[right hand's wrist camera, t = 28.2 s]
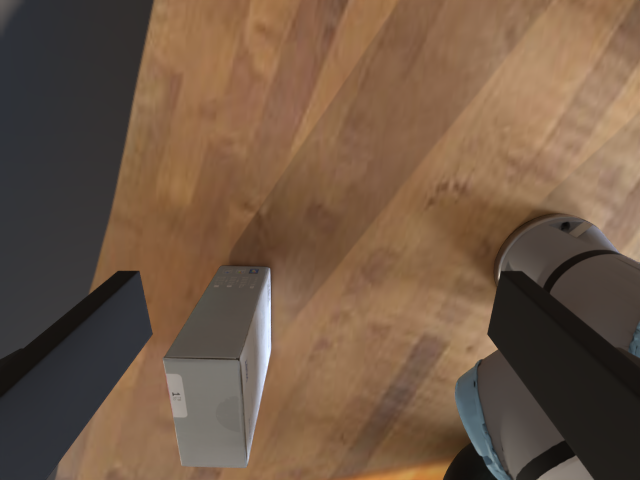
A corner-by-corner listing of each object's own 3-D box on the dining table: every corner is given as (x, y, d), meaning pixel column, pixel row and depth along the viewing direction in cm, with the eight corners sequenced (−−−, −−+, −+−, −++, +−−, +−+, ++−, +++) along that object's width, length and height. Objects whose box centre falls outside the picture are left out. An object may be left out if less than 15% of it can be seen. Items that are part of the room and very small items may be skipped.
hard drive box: (219, 264, 51) (161, 354, 32) (270, 265, 51) (242, 357, 32) (225, 349, 57) (179, 469, 38) (272, 351, 57) (249, 470, 38)
